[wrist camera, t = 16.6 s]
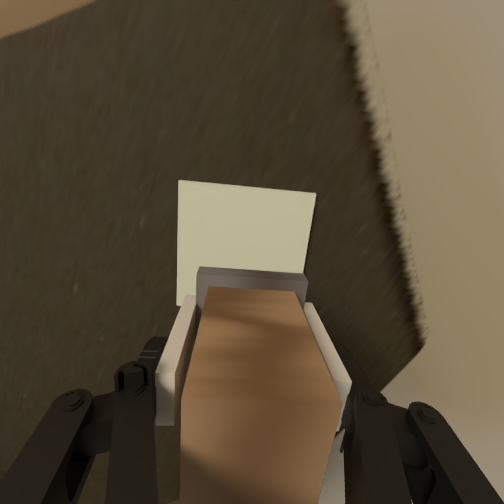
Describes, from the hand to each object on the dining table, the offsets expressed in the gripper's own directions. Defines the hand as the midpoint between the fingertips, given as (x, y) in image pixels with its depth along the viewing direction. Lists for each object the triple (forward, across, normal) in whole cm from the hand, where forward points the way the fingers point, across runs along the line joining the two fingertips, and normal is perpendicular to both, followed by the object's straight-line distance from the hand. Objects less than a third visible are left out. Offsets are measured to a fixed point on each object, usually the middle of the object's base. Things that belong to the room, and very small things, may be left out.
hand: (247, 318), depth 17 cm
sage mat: (+14, 0, 0) cm, 14 cm away
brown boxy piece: (0, 0, 0) cm, 0 cm away
